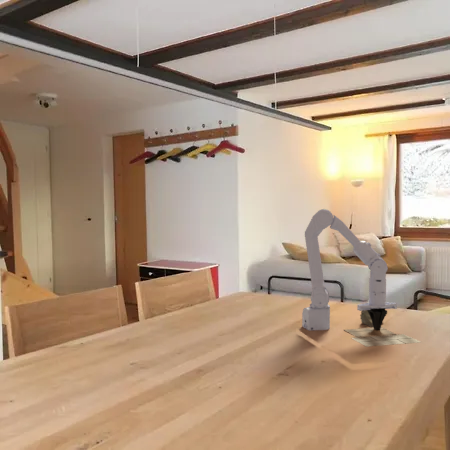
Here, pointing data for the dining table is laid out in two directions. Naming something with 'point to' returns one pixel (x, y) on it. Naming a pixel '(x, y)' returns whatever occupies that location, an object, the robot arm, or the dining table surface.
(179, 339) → the dining table surface
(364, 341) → the beige grooved panel
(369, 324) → the rock
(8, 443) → the dining table surface
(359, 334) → the plank
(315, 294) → the robot arm
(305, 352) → the dining table surface
